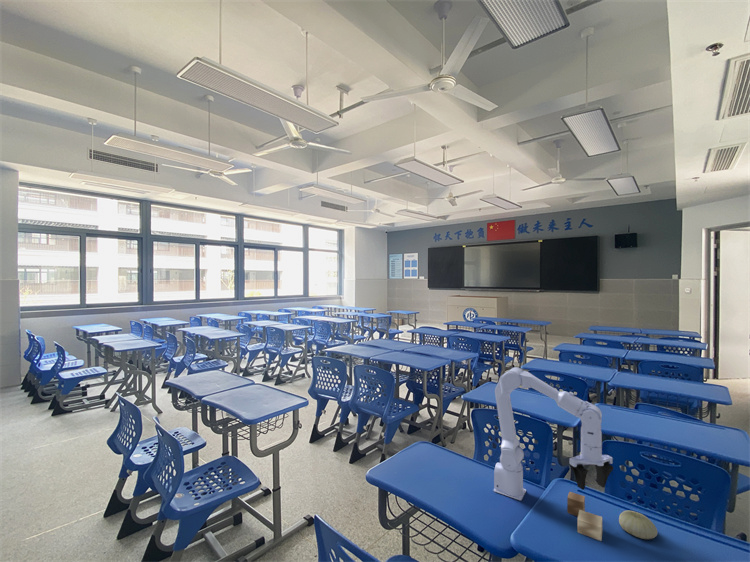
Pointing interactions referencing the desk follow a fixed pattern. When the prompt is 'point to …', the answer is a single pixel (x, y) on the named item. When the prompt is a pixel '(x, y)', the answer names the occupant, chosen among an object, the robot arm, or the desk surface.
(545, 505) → the desk surface
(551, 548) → the desk surface
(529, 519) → the desk surface
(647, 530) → the sea urchin shell
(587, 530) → the beech base
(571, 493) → the walnut block
